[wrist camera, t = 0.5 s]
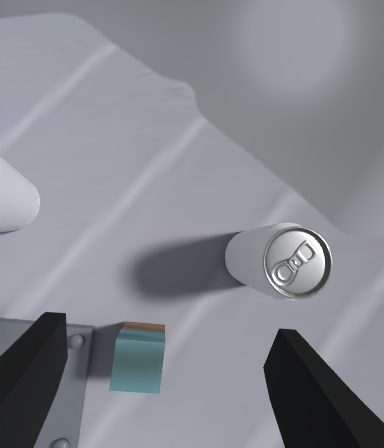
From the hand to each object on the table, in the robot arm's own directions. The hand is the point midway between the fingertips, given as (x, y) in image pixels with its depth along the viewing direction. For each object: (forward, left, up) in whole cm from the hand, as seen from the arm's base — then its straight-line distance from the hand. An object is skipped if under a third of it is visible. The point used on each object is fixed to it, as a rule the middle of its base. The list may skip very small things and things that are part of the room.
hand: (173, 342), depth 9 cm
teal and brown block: (-8, +2, -23) cm, 24 cm away
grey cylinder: (+3, -10, -23) cm, 25 cm away
